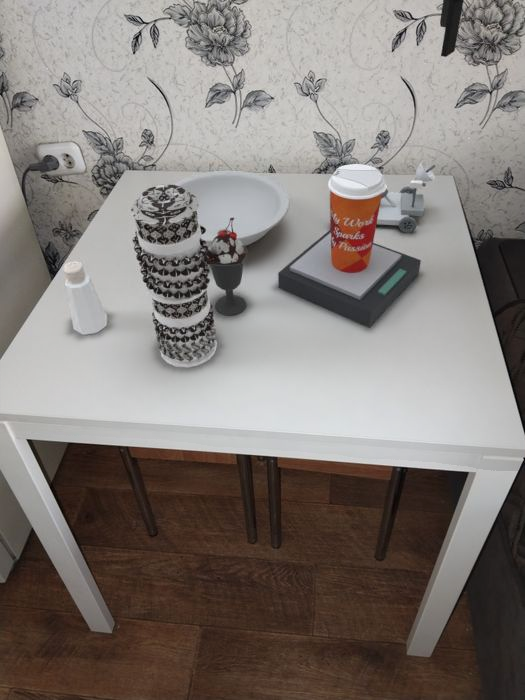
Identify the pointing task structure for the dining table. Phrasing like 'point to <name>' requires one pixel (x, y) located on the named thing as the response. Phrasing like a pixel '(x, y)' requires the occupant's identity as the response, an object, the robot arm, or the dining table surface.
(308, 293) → the scale
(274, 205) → the white bowl
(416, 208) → the toy car
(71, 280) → the pepper shaker
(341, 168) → the coffee cup
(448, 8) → the robot arm
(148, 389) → the dining table surface
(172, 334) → the decorative candle
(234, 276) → the sundae
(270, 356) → the dining table surface
